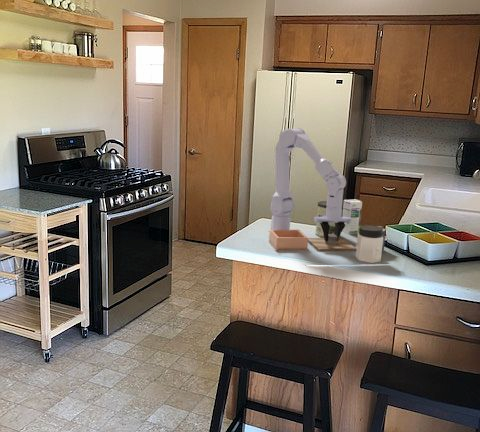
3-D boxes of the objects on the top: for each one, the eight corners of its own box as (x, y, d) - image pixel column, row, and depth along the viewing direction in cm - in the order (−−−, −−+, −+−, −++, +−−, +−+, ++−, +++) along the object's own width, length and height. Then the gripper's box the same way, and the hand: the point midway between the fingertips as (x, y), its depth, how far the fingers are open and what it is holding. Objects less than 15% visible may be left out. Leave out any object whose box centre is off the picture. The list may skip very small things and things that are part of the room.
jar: (367, 265, 176) (371, 232, 173) (350, 258, 183) (353, 226, 180) (385, 261, 181) (389, 229, 178) (368, 255, 187) (371, 224, 185)
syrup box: (348, 235, 215) (351, 201, 212) (340, 231, 220) (343, 199, 217) (359, 234, 217) (362, 201, 214) (351, 231, 222) (354, 198, 219)
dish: (268, 241, 199) (269, 229, 198) (298, 241, 201) (299, 229, 200) (276, 250, 188) (276, 238, 187) (307, 250, 190) (308, 237, 189)
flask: (378, 250, 195) (382, 223, 192) (386, 252, 193) (389, 224, 191) (367, 255, 188) (370, 227, 186) (374, 256, 186) (377, 228, 184)
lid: (306, 239, 202) (307, 230, 202) (342, 239, 205) (342, 230, 204) (318, 251, 188) (319, 240, 187) (356, 250, 191) (357, 240, 190)
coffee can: (343, 236, 213) (346, 203, 210) (334, 241, 205) (337, 207, 202) (320, 231, 219) (323, 199, 215) (311, 236, 210) (313, 203, 207)
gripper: (319, 208, 188) (316, 243, 191) (356, 208, 190) (352, 243, 194) (313, 204, 195) (310, 238, 198) (349, 204, 197) (345, 238, 200)
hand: (331, 240), depth 196 cm, fingers closed on lid, 3 cm apart
